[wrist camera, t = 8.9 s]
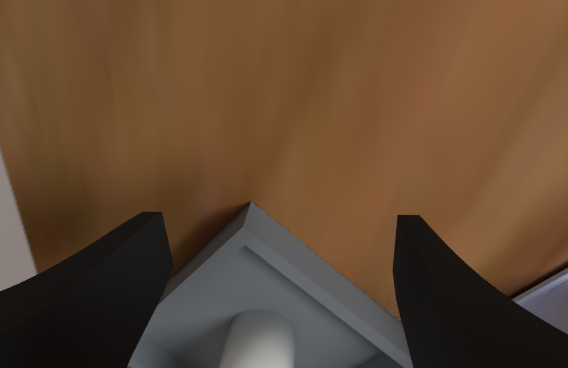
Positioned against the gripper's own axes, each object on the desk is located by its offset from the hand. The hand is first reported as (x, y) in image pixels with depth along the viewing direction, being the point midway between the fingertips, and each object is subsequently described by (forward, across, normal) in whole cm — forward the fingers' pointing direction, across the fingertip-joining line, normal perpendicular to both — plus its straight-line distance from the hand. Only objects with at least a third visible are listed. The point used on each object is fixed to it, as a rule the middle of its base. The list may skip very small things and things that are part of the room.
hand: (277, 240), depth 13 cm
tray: (+9, +3, +14) cm, 17 cm away
